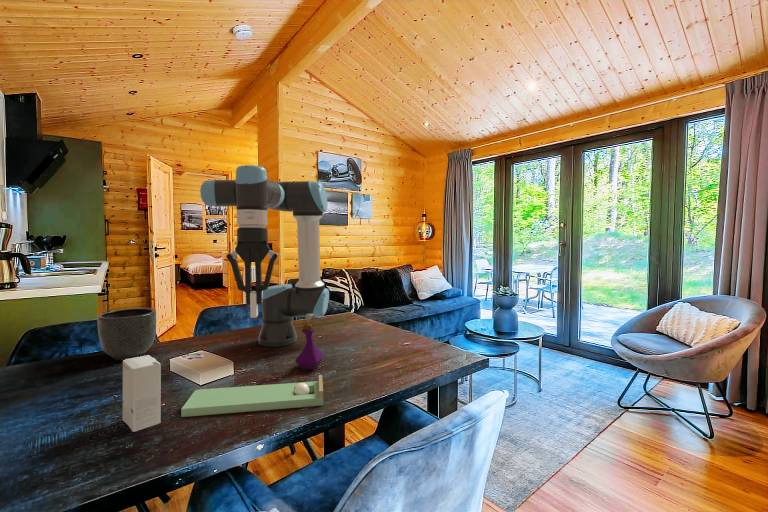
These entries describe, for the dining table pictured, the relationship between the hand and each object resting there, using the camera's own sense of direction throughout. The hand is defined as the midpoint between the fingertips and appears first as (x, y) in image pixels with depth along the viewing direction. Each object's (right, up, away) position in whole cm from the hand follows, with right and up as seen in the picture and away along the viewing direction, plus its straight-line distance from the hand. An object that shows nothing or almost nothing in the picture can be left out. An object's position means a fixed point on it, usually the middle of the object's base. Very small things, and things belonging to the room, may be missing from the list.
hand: (254, 316), depth 96 cm
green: (+1, -23, +1) cm, 23 cm away
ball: (+12, -21, +3) cm, 24 cm away
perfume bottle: (+10, -21, +25) cm, 35 cm away
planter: (-57, -20, +35) cm, 70 cm away
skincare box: (-23, -24, -10) cm, 34 cm away
